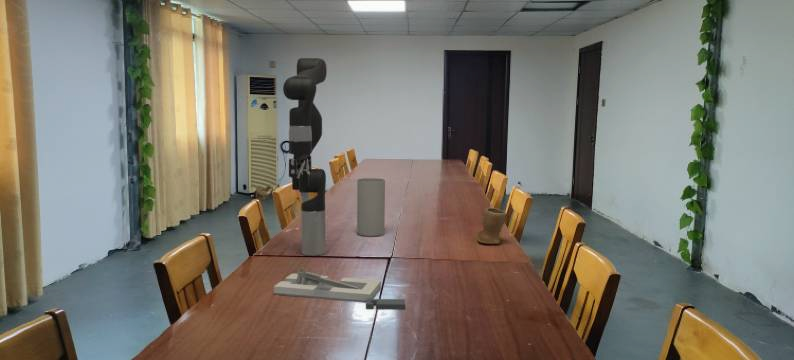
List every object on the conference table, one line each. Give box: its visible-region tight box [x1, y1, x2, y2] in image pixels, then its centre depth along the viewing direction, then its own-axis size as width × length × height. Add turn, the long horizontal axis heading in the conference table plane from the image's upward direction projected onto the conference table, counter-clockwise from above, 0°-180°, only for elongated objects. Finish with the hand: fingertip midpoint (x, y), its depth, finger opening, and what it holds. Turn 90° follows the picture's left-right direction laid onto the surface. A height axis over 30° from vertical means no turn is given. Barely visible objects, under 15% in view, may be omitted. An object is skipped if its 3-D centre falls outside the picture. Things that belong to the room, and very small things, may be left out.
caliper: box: [297, 266, 358, 289], centre depth 170 cm, size 21×1×6 cm, turn 78°
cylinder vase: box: [356, 177, 386, 238], centre depth 249 cm, size 12×12×25 cm
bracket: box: [365, 298, 406, 311], centre depth 157 cm, size 4×11×2 cm, turn 91°
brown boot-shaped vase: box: [475, 207, 507, 245], centre depth 238 cm, size 15×12×15 cm
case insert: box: [273, 272, 382, 303], centre depth 170 cm, size 14×30×2 cm, turn 78°
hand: (300, 188), depth 184 cm, fingers open, 8 cm apart
